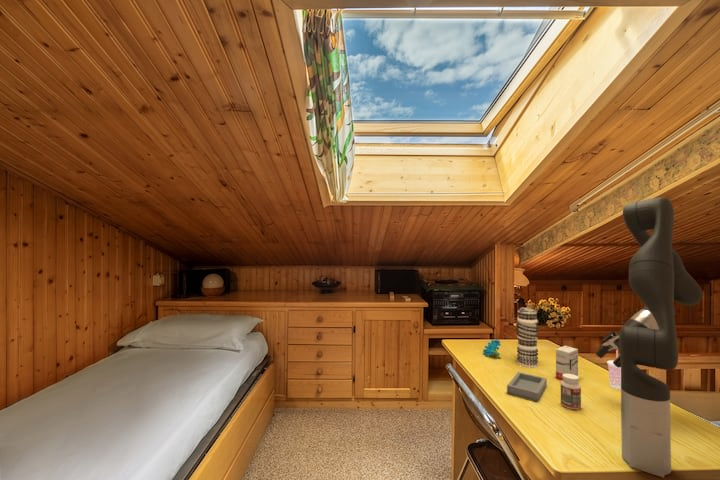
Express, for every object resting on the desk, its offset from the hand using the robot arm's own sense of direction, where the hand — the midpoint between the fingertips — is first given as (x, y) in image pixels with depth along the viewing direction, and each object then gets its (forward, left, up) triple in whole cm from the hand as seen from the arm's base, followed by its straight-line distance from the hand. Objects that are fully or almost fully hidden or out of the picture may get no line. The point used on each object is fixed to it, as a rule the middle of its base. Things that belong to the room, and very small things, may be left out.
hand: (606, 360), depth 109 cm
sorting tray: (-3, +24, -15) cm, 28 cm away
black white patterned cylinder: (+26, +30, -16) cm, 42 cm away
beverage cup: (+21, -2, -16) cm, 26 cm away
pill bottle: (-7, +10, -16) cm, 19 cm away
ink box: (+19, +14, -16) cm, 28 cm away
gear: (+27, +45, -16) cm, 55 cm away
